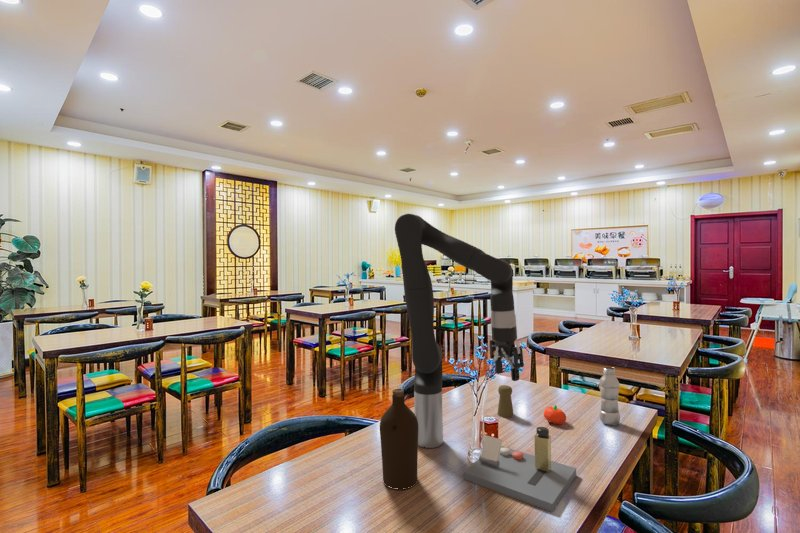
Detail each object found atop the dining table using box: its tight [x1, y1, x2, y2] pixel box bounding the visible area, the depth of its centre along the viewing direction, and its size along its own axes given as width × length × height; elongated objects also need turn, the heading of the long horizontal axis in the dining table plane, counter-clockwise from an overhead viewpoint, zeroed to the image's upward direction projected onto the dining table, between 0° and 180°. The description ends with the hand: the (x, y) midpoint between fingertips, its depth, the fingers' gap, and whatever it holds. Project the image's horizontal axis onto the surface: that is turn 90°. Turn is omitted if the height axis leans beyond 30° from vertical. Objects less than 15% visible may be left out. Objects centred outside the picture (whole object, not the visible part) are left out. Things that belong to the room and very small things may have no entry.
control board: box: [463, 445, 577, 513], centre depth 111 cm, size 24×20×3 cm
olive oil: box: [379, 388, 419, 489], centre depth 110 cm, size 11×11×25 cm
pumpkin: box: [543, 404, 567, 425], centre depth 147 cm, size 7×8×6 cm
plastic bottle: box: [598, 366, 621, 426], centre depth 144 cm, size 6×7×20 cm
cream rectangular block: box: [478, 434, 503, 467], centre depth 115 cm, size 6×2×7 cm, turn 51°
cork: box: [497, 384, 515, 419], centre depth 154 cm, size 6×6×11 cm
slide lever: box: [534, 426, 552, 472], centre depth 111 cm, size 4×3×11 cm
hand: (507, 376), depth 124 cm, fingers open, 8 cm apart
